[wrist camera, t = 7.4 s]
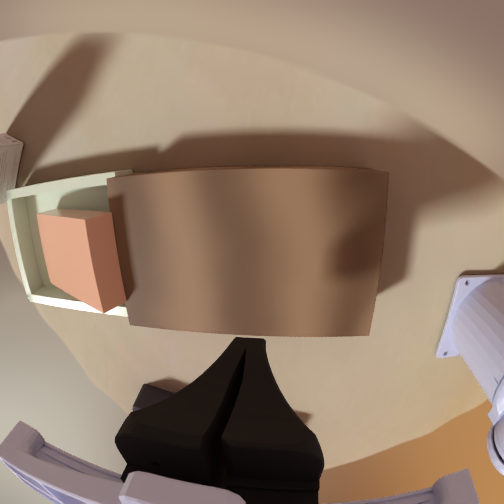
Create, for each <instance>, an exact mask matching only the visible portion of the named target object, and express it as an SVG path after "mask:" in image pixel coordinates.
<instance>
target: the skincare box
mask: <svg viewBox="0 0 504 504" xmlns="http://www.w3.org/2000/svg"><path fill="white" fill-rule="evenodd" d="M22 148H23V142H21V141H19V140H17V139H15V138H13V137H11V136H9V135H7V134H5V133H3V134H0V204H2V203H5V202H7V198H6V191H8V190H12V189H15V186H16V179H17V173H18V168H19V163H20V158H21V153H22Z"/></svg>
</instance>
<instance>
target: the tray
mask: <svg viewBox="0 0 504 504" xmlns="http://www.w3.org/2000/svg"><path fill="white" fill-rule="evenodd" d="M132 173H133V169H128V170H119V171H111V172H104V173H96V174H90V175H83V176H77V177H70V178H65V179H59V180H53V181H48V182H43V183H38V184H33V185H28V186H23V187H19V188H15V189H12V190H8V191H6V198H7V205H8V213H9V219H10V225H11V231H12V236H13V241H14V246H15V251H16V255H17V260H18V264H19V268H20V272H21V276H22V279H23V283H24V287H25V290H26V293H27V297H28V300H29V301H31V302H36V303H41V304H47V305H52V306H58V307H64V308H70V309H76V310H83V311H89V312H96V313H102V312H100V311H98V310H96V309H94V308H92V307H91V306H89V305H87V304H85V303H84V302H82V301H80V300H78V299H77V298H75V297H73V296H72V295H70V294H68V293H66V292H65V291H63V290H62V289H60V288H58V287H57V286H55V285H53V284H52V283H51V282H50V278H49V274H48V270H47V266H46V262H45V257H44V253H43V248H42V243H41V237H40V232H39V226H38V220H37V214H38V213H41V212H45V211H49V210H52V209H56V208H59V209H75V210H89V211H103V212H110V210H109V201H108V191H107V180H106V179H107V178H112V177H116V176H121V175H126V174H132ZM104 314H111V315H119V316H127V317H128V314H127V310H126V305H125V303H123V304H121V305H119V306H117V307H115V308H113V309H112V310H110V311H108V312H106V313H104Z"/></svg>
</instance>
